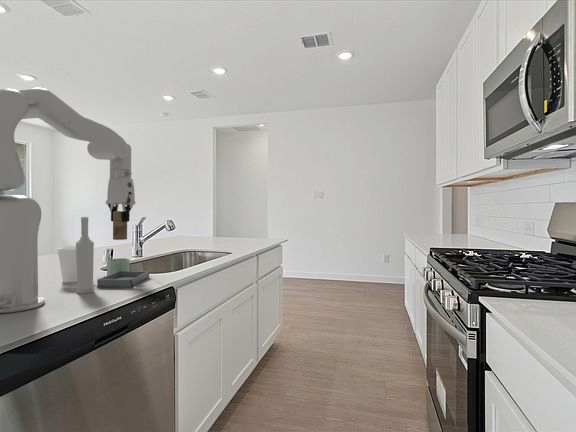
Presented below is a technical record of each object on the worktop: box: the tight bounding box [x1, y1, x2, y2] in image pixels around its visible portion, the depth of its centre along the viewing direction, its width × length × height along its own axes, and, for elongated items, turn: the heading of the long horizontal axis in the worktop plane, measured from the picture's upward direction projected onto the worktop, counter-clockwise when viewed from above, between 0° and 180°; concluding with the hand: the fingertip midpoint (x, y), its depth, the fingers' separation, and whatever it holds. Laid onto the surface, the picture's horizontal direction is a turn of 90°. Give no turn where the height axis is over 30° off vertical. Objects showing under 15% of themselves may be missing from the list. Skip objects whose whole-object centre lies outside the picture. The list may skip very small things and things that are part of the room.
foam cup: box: [57, 245, 77, 283], centre depth 127 cm, size 10×9×13 cm
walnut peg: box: [112, 210, 128, 241], centre depth 133 cm, size 5×5×11 cm
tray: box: [96, 270, 150, 289], centre depth 126 cm, size 15×12×3 cm
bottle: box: [75, 216, 95, 295], centre depth 113 cm, size 5×5×25 cm
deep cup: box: [106, 257, 131, 276], centre depth 139 cm, size 8×8×6 cm
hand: (120, 220), depth 133 cm, fingers closed on walnut peg, 5 cm apart
